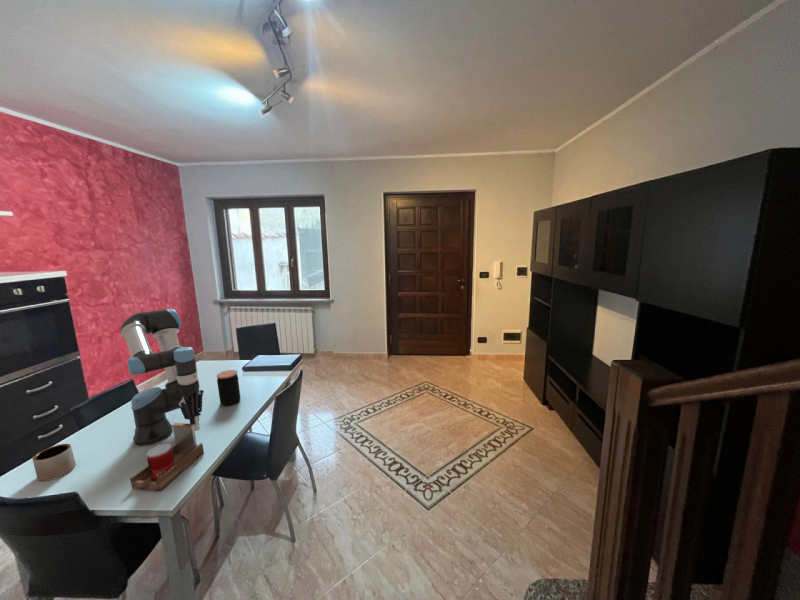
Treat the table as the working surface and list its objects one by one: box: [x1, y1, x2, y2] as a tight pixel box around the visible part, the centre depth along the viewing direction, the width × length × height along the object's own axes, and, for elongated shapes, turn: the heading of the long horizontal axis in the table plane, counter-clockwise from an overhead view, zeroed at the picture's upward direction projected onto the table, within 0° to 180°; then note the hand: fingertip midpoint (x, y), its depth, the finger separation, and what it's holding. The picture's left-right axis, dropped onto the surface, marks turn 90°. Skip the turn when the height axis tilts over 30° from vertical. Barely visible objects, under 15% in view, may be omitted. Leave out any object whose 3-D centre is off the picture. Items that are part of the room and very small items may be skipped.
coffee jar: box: [216, 369, 241, 407], centre depth 183 cm, size 11×11×18 cm
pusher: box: [171, 422, 198, 454], centre depth 137 cm, size 9×2×14 cm, turn 83°
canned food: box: [146, 443, 174, 480], centre depth 125 cm, size 8×8×11 cm
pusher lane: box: [129, 442, 205, 493], centre depth 129 cm, size 12×22×5 cm, turn 173°
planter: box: [32, 443, 77, 482], centre depth 129 cm, size 11×11×10 cm
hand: (196, 429), depth 143 cm, fingers closed
